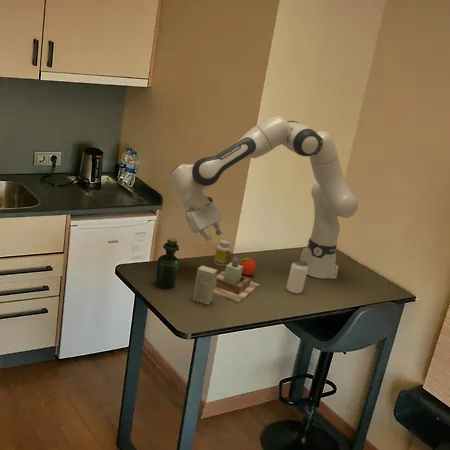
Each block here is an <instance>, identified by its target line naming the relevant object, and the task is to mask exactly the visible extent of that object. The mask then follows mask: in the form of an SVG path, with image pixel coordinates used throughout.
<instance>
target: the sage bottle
mask: <svg viewBox="0 0 450 450" xmlns="http://www.w3.org/2000/svg"><path fill="white" fill-rule="evenodd" d="M239 263H240V258H238V257H232V261H231V262H229V263H227V265H225V268H224V269H225V270H224V272H225V274H224V278H223V280H226V281H228V282H231V283H234V284H237V285H238V284H239V283H240V280H241V275H242V274H243V273H242V270H243V266H241V265H239ZM242 276H243V275H242Z"/></svg>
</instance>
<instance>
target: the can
mask: <svg viewBox="0 0 450 450" xmlns="http://www.w3.org/2000/svg"><path fill="white" fill-rule="evenodd" d="M307 265H308V263H307V262H305V261H302V260H300V259H294V260H293V262H292V263H291V266H290V270H289V275H288V277H287V278H288V279H287V283H286V287H285V288H286V290H287V291H288V292H289V293H291V294H294V293H295V295H300V294H302V293H303V290H304V287H305V282H306V278H307V271H308V266H307ZM299 293H300V294H299Z"/></svg>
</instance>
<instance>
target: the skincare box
mask: <svg viewBox="0 0 450 450" xmlns="http://www.w3.org/2000/svg"><path fill="white" fill-rule="evenodd" d="M217 275H218V269H216V268H212V267H209V266H206V265H200V266H199V267H198V268H197V271H196V277H195V284H194V291H193V294H192V296H193V297H192V301H195V302H197V303H201V304H204V305H207V306H208V305H210V304H211V303H212V302H213V299H214V295H215V294H214V288H215V283H216V277H217Z"/></svg>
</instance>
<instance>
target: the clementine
mask: <svg viewBox="0 0 450 450" xmlns="http://www.w3.org/2000/svg"><path fill="white" fill-rule="evenodd" d="M238 265H241V266H243V270H242V274H243V275H244V276H245V275H246V276H251V275H252V274H254V273H255V271H256V269H257V264H256V261H255V260H254V259H252V258H251V257H245V258H242V259H240V260H239V264H238Z"/></svg>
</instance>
